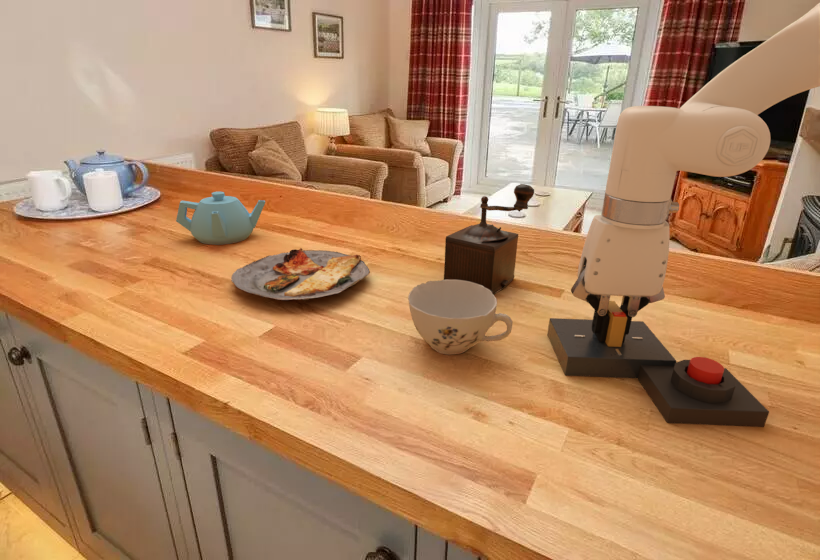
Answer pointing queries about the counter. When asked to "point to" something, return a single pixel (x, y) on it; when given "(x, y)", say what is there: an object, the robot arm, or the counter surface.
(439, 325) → the teacup
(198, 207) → the teapot
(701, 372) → the button
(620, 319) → the red-tipped wooden block
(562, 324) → the panel
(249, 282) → the food plate
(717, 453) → the counter surface
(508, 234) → the manual coffee grinder
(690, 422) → the button block
